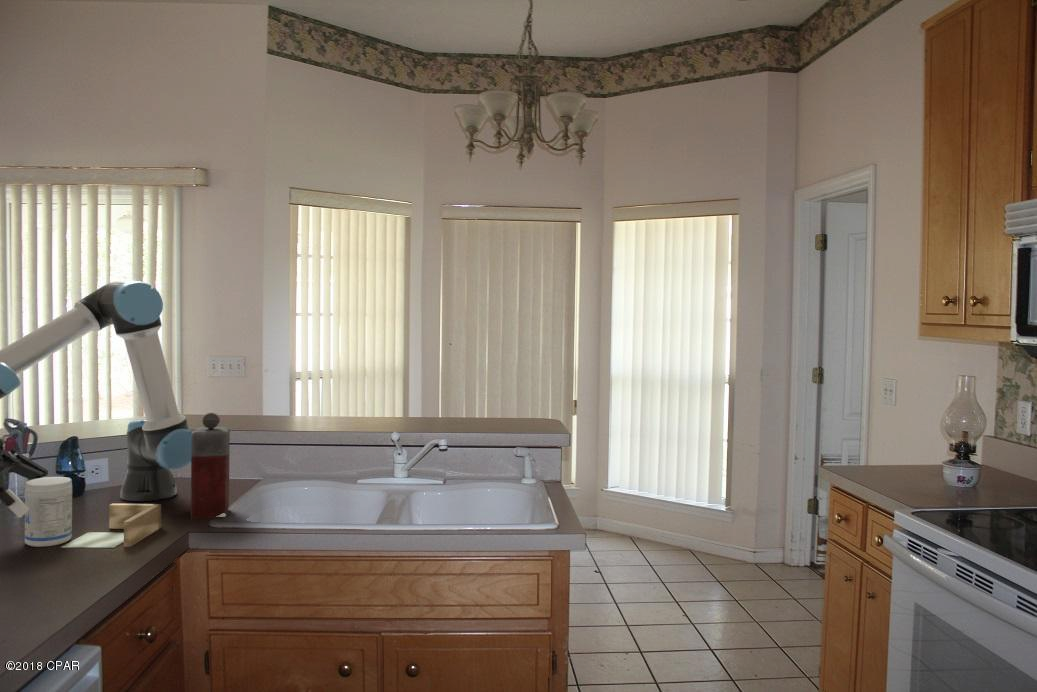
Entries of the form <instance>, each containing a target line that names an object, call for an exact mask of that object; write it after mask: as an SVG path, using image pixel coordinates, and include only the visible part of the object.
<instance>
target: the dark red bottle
mask: <svg viewBox="0 0 1037 692" xmlns="http://www.w3.org/2000/svg"><path fill="white" fill-rule="evenodd" d="M220 421H221V419H220V416H219V414H217V413H216V412H214V411H210V412H207V413H206V414H204V416H203V417H202V424H203V426H204V427H197V428H195V429H194V431H192V432H193V433H192V437H191V463H190V465H191V466H190V520H202V519H203V518H204V519H206V518H207V519H215V518H214V517H216V516H218V515H220V514H222V513H225V514H226V515H227V516H228V514H227V511H228V508H229V509H230V454H231V453H230V452H231V451H230V443H231V441H230V440H231V436H230V435H231V433H230V432H231V431H230V430H231V429H230V428H229V427H226V426H223V427H219V426H218V425H219V424H220ZM228 512H229V511H228ZM204 519H203V520H204Z"/></svg>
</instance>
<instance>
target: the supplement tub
mask: <svg viewBox="0 0 1037 692" xmlns="http://www.w3.org/2000/svg"><path fill="white" fill-rule="evenodd" d="M24 489H25V490H24V504H25V505H26V506H27V507H29V508H30V510H29V511H28V512H27V513H25V514H24V543H25V544H26V545H27V546H30V547H36V548H42V547H43V548H44V547H52V546H58V545H61V544H66V543H68V541H70V540H71V538H72V535H73V533H72V529H73V528H72V527H73V526H72V525H73V523H72V521H73V482H72V478H70V477H69V476H68V477H65V476H46V477H44V478H37V479H33V480H30V479H28V481H26V482H25V488H24Z"/></svg>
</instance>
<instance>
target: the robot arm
mask: <svg viewBox="0 0 1037 692" xmlns="http://www.w3.org/2000/svg"><path fill="white" fill-rule="evenodd" d="M73 306H74V307H73V308H71V309H70V310H68V311H66V312H65V313H63V314H61V315H59V316H56V318H54V319H52V320H50V321H49V322H47V323H45V324H44V325H41V326H40V327H38V328H36V329H35V330H33V331H31V332H29V333H28V334H26V335H24V336H23V337H20V338H19V339H17V340H16V341H14V342H12V343H10V344H9V345H7V346H5V347H3V348H1V349H0V400H2V399H3V398H4V397H6V396H8V395H10V394H11V393H12V392H14V391H15V390H16V389H18V388H19V387H20V386H21V381H20V378H19V377H18V375H19V374H21V373H23V372H24V371H26V370H28V369H30V368H31V367H32V366H34V365H35V366H36V364H38V363H40V362H42V361H43V360H45V359H46V358H48V357H49V356H52V355H53V354H55V353H56V352H59V351H60V350H62V349H64V348H65V347H67V346H68V345H71V344H72V343H73V342H75V341H76V340H79V339H80V338H82V337H84V336H85V335H87V334H88V333H91V332H99V331H101V330H103V329H105V328H106V327H110V326H112V325H113V328H114V332H115V334H116V336H118V337H119V338H121V339H123V340H124V344H125V349H126V351H127V356H128V359H129V363H130V367H131V369H132V374H133V377H134V382H135V384H136V388H137V391H138V395H139V399H140V402H141V403H140V404H141V406H142V411H143V414H144V417H145V419H142V420H141V419H139V420H131V421H130V422H129V423H128V425H127V429H126V430H127V431H126V440H127V441H126V443H127V445H126V448H127V450H126V451H127V453H126V456H127V457H126V459H127V461H126V462H127V463H126V464H127V465H126V466H127V467H126V468H127V471H126V474H125V477H124V480H123V483H122V486H121V489H120V496H119V497H120V499H121V500H122V501H123V500H124V501H128V502H150V501H151V502H152V500H153V501H159V500H160V501H161V500H165V499H169V498H172V497H174V495H175V496H176V495H177V493H178V492H177V491H178V490H177V484H176V481H175V478H174V475H173V472H172V470H180V469H182V468H185V467H187V466H189V465H191V437H192V433H193V432H194V431H192V430H190V429H189V428H190V427H189V423H188V420H187V417H186V415H185V414H182V413H181V412H179V409H178V405H177V402H176V398H175V393H174V390H173V386H172V383H171V379H170V375H169V372H168V367H167V364H166V360H165V356H164V353H163V349H162V344H161V341H160V337H159V331H160V329H161V327H162V326H163V325H162V320H161V317H160V316H161V314H162V312H163V310H164V309H163V308H164V303H163V298H162V296H161V294H160V292H159V291H158V290H157V289H156V288H155V287H154V286H152V285H151V284H149V283H147V282H143V281H138V280H125V281H113V282H109V283H106V284H104V285H102V286H101V287H99V288H98V289H96V290H95V291H92V292H91V293H89V294H88V295H86V296H84V297H82V299H80V300H78V301H76V302H75V303H74V305H73ZM4 446H5V442H4V440H3V439H2V438H1V437H0V501H1V502H2V503H3V504H5V506H7V508H9V509H10V511H12V513H14V515H16V516H17V517H18V518H19V519H20V518H23V516H25V513H27V512H28V511H29V510H30V508H29V507H27V506H26V505H25V502H24V501H23V500H22V499H21V498H20V497H19V496H18V495H16V493H15V492H13V491H12V490H11V488H8V489H7V488H6V482H5V477H4V473H10V474H11V473H14V474H16V475H19V476H21V477H24V478H25V479H28V480H33V479H37V478H44V477H47V475H48V474H49V470H48V469H46V468H44V467H43V466H42V465H40V464H38V463H36V462H35V461H33V460H31V459H30V458H29V457H26V456H25V455H24V454H22V453H21V452H19V451H18V450H17V449H16V448H12V449H10V450H9V451H6V450H5V449H4Z"/></svg>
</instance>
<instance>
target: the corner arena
mask: <svg viewBox="0 0 1037 692" xmlns="http://www.w3.org/2000/svg"><path fill="white" fill-rule="evenodd" d="M108 506H109V507H108V508H109V510H108V512H109V514H108V515H109V516H108V517H109V520H108V521H109V523H108V528H109V529H114V530H115V529H116V530H117V529H123V532H107V531H106V532H104V531H103V532H99V531H98V532H97V531H96V532H95V531H94V532H93V531H91V532H86V533H84V534H82V535H80V536H79V537H77V538H75V539H73V540H71V541H69V542H66V543H64V545H62V546H60V548H61V549H62V548H63V549H64V548H65V549H115V548H117V547H118V546H120V545H122V544H123V548H131V547H133V546H134V545H136V544H138V543H139V542H141V541H142V540H143V539H146V537H149V536H150V535H151V534H153V533H155V532H156V531H158V530H159V529H161V528H162V504H160V503H110V504H109V505H108Z"/></svg>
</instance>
